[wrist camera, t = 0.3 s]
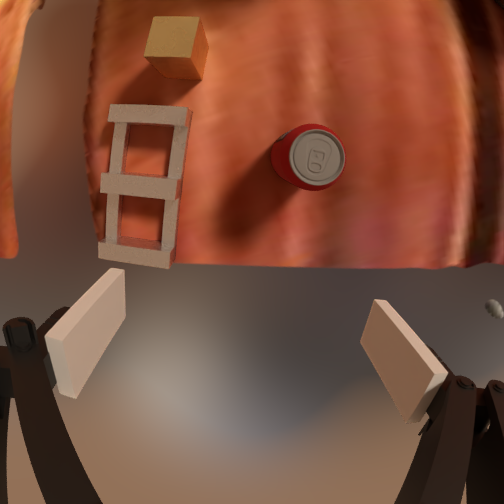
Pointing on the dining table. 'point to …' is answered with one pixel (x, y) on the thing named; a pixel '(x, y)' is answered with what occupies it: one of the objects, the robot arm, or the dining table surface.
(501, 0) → the planter
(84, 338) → the robot arm
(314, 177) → the beverage can
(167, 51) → the brass block
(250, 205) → the dining table surface
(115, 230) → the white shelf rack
